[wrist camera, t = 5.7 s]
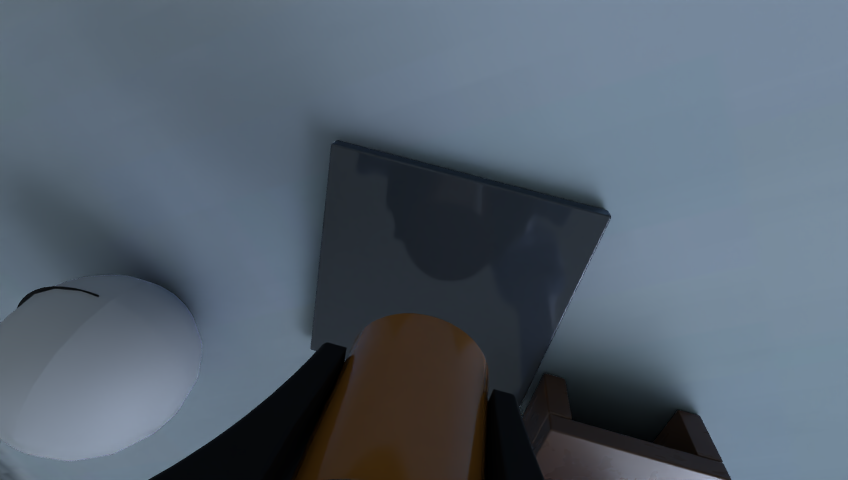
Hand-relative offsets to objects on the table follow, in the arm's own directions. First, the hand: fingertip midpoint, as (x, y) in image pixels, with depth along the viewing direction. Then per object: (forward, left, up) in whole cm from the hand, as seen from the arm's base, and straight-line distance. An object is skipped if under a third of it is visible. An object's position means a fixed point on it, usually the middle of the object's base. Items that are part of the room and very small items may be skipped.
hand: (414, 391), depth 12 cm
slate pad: (0, 0, -6) cm, 6 cm away
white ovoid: (-6, +14, -6) cm, 16 cm away
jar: (0, 0, -1) cm, 1 cm away
